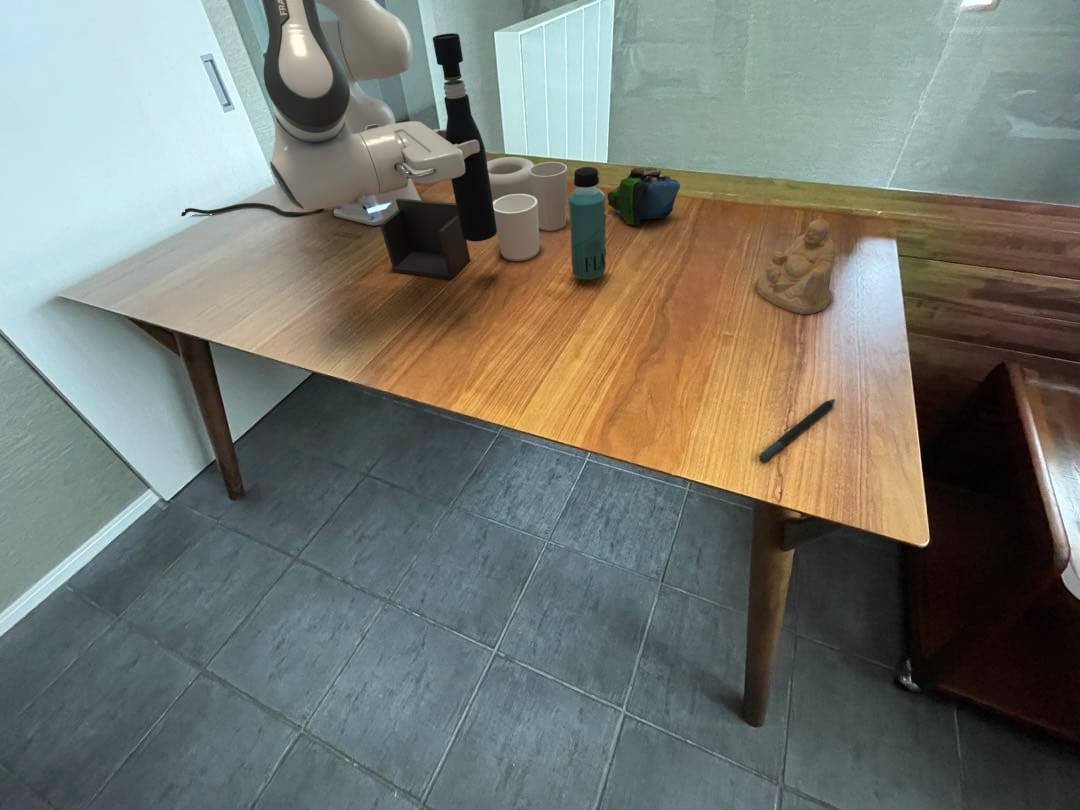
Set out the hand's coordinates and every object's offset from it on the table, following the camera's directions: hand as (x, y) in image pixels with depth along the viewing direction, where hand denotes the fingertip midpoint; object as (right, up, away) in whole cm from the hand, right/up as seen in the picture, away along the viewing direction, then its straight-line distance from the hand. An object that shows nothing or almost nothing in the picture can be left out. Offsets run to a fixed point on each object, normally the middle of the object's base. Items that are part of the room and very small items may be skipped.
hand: (468, 139), depth 85 cm
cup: (+14, -3, +33) cm, 36 cm away
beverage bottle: (+21, -19, +15) cm, 32 cm away
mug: (+7, -11, +25) cm, 28 cm away
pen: (+45, -47, -17) cm, 67 cm away
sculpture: (+34, -1, +32) cm, 47 cm away
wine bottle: (+1, -12, +11) cm, 16 cm away
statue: (+55, -24, +5) cm, 61 cm away
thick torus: (+4, +10, +47) cm, 48 cm away
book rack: (-11, -15, +23) cm, 29 cm away
